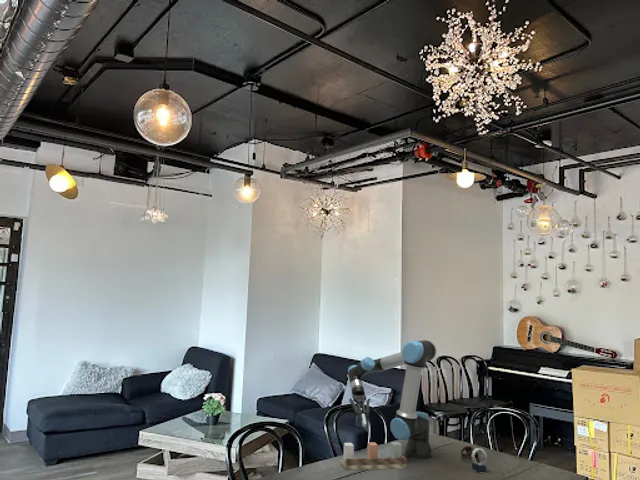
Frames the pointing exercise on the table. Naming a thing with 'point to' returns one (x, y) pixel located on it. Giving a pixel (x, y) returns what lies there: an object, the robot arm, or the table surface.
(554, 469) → the table surface
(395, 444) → the pale green upright block
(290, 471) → the table surface
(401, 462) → the birch key console
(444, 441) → the table surface
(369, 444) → the terracotta key
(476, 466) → the small desk fan
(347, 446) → the off-white key
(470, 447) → the pottery mug
